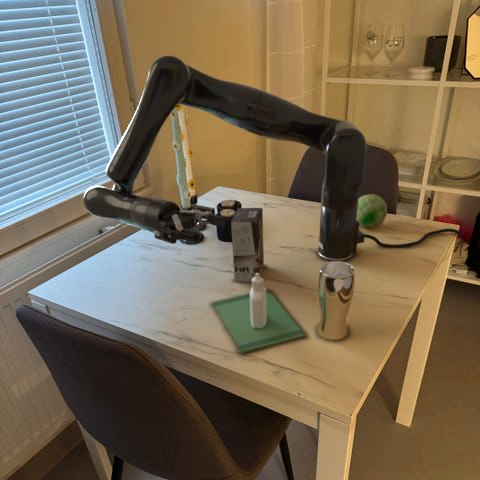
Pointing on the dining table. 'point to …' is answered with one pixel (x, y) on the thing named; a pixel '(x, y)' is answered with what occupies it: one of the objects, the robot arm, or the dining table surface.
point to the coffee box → (247, 243)
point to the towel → (250, 338)
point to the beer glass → (335, 298)
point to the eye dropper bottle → (258, 303)
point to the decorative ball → (371, 211)
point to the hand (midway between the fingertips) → (212, 229)
